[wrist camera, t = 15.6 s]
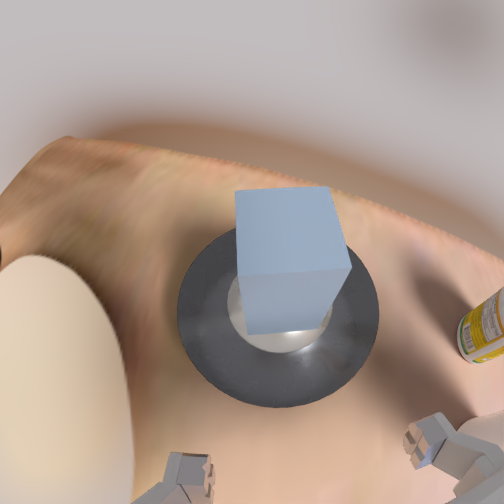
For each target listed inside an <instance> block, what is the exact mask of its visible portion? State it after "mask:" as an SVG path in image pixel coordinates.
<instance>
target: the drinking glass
mask: <svg viewBox="0 0 504 504" xmlns="http://www.w3.org/2000/svg"><path fill="white" fill-rule="evenodd" d="M460 432H461V433H464V434H467V435H470V436H472V437H475V438H478V439H481V440H484V441H487V442H490V443H493V444H497V445H498V446H499V447H500V448H501V450H502V451H503V452H504V410H502V411H499V412H496V413H493V414H490V415H486V416H480V417H475V418H472V419H470V420H468V421H466V422H465V423H464V424H463V425H461V427H460V428H459V429H458V430H457V433H460Z"/></svg>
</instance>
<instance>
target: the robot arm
mask: <svg viewBox="0 0 504 504" xmlns="http://www.w3.org/2000/svg"><path fill="white" fill-rule="evenodd" d="M408 430H409V431H408V432H407V433H406V434H405V436H404V439H403V446H404V449H405V451H406V453H407V454H410V455H411V458H410V461H411V463H412V464H413V466H414V468H415V470H417V469H419V468H422V467H424V466H427V465H429V464H432V465H433V466H435V467H437V468H439V469H440V470H442V471H444V472H446V473H447V474H449V475H451V476H453V477H454V478H456V479H458V480H460V481H459V482H458V483H457V484H456V486H455V487H454V489H453V491H454V493H455V495H456V498H454V499H453V500H451V501H449V502H447V503H445V504H504V452H503V451H502V450H501V448H500V447H499V446H498V445H497V444H493V443H490V442H487V441H484V440H481V439H478V438H475V437H472V436H470V435H467V434H464V433H461V432H460V433H457V431H456V430H455V429H454V427H453V426H452V425H451V424H450V422H449V421H448V420H447V418H446V417H445V416H444V415H443V413H441V412H437V413H435V414H432V415H430V416H427V417H424V418H422V419H419V420H416V421H414V422H411V423H410V424H409V426H408ZM214 484H215V469H214V465H213V464H211V457H210V454H191V453H179V452H171V453H170V455H169V458H168V462H167V466H166V470H165V474H164V478H163V482H159V483H157V484H156V485H155V486H154V487H152V488H151V489H150V490H148V491H147V492H146V493H144V494H143V495H142V496H141V497H139V498H138V499H136V500H135V501H134V502H132V503H131V504H213V499H214V491H213V489H212V486H213V485H214Z"/></svg>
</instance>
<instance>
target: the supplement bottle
mask: <svg viewBox="0 0 504 504" xmlns="http://www.w3.org/2000/svg"><path fill="white" fill-rule="evenodd" d="M457 343H458V347H459V350H460V352H461V354H462V356H463V357H464V358H465V359H466V360H467V361H468V362H470V363H472V364H481V363H483V362H486V361H488V360H491V359H493V358H495V357H498V356H500V355H502V354H504V287H503V288H501V289H500V290H499V291H498V292H496V293H495V294H494V295H492V296H491V297H490V298H489V299H487V300H486V301H485V302H483V303H482V304H480V305H479V306H478V307H476V308H475V309H473V310H472V311H471V312H469V313H468V314H466V315H465V316H464V317H463V318H462V320H461V321H460V324H459V326H458V330H457Z"/></svg>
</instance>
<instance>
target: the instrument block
mask: <svg viewBox="0 0 504 504" xmlns="http://www.w3.org/2000/svg"><path fill="white" fill-rule="evenodd" d="M235 210H236V243H237V271H238V281H239V287H240V293H241V298H242V304H243V310H244V316H245V321H246V327H247V332H248V335H258V334H272V333H284V332H294V331H304V330H314V329H318V327H319V325H320V324H321V322H322V320H323V319H324V317H325V315H326V314H327V312H328V310H329V308H330V307H331V305H332V303H333V301H334V300H335V298H336V296H337V294H338V293H339V291H340V289H341V287H342V285H343V283H344V282H345V280H346V278H347V276H348V274H349V272H350V270H351V269H352V265H351V261H350V258H349V254H348V250H347V246H346V243H345V239H344V236H343V232H342V229H341V225H340V222H339V219H338V215H337V212H336V209H335V206H334V203H333V199H332V196H331V193H330V190H329V187H328V186H327V187H294V188H273V189H255V190H240V191H235Z"/></svg>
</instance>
